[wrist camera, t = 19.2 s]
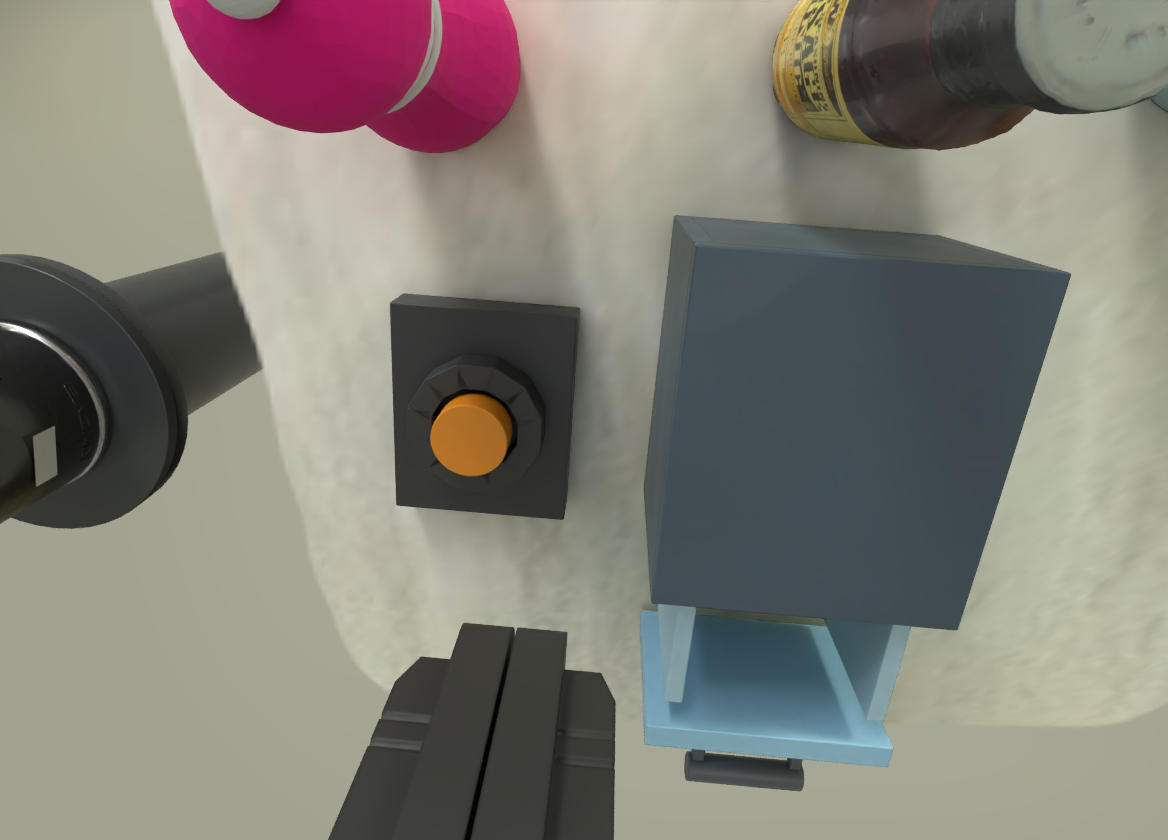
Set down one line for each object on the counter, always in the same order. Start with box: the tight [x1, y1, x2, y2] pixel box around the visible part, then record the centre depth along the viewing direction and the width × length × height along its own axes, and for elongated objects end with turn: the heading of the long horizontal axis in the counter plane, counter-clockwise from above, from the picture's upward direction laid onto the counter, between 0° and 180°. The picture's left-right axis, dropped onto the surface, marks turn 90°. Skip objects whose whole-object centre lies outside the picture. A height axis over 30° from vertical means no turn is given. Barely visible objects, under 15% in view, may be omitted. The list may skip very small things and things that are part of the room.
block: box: [390, 294, 580, 520], centre depth 36 cm, size 9×11×4 cm
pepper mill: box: [169, 0, 520, 153], centre depth 23 cm, size 7×7×20 cm
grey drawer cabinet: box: [644, 215, 1071, 630], centre depth 31 cm, size 15×13×11 cm
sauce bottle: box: [772, 0, 1168, 151], centre depth 22 cm, size 6×6×20 cm
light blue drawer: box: [640, 604, 911, 791], centre depth 35 cm, size 18×11×9 cm, turn 176°
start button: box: [430, 393, 513, 476], centre depth 34 cm, size 4×4×2 cm
